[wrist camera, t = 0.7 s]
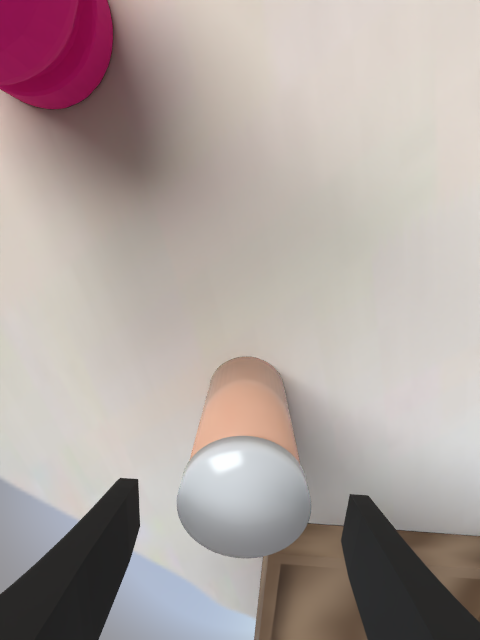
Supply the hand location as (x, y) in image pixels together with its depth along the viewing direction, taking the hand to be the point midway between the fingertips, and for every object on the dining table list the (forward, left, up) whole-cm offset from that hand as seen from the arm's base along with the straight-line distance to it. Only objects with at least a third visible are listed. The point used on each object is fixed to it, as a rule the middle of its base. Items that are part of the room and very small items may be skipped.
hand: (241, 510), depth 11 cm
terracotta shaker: (0, 0, -8) cm, 8 cm away
